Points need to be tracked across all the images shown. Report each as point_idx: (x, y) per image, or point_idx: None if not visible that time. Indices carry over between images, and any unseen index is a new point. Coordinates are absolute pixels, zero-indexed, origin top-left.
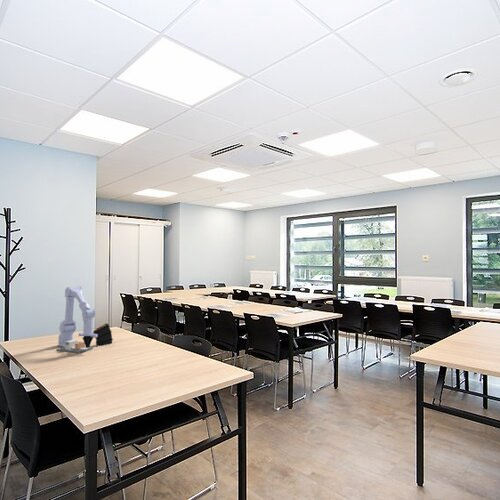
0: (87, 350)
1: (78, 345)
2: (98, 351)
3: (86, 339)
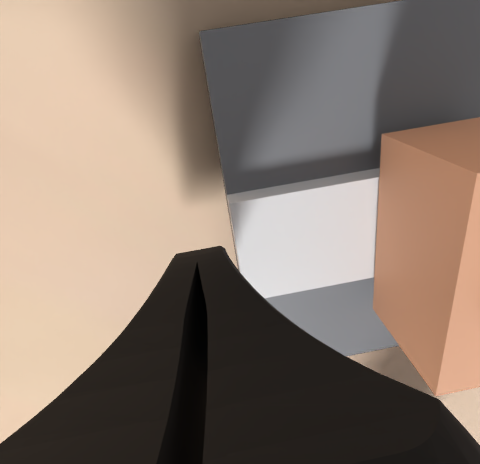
0: (236, 256)
1: (432, 167)
2: (13, 320)
3: (80, 447)
